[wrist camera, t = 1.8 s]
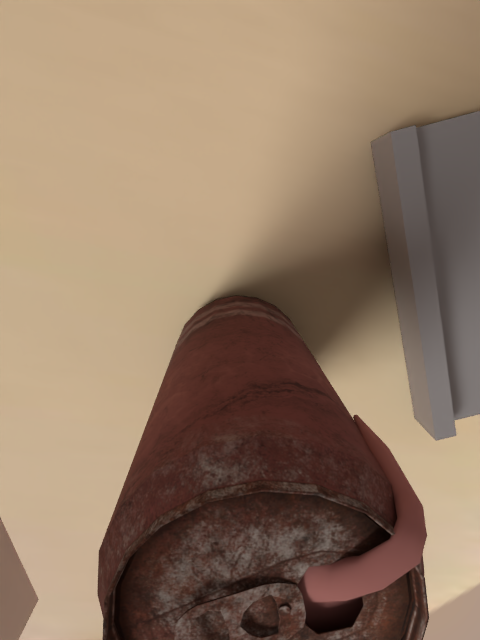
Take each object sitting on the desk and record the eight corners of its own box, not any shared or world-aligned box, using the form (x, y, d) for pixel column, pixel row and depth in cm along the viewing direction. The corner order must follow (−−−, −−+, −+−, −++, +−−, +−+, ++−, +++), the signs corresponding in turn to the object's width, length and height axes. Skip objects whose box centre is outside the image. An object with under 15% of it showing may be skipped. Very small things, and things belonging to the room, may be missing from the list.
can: (328, 346, 20) (539, 612, 7) (240, 431, 21) (270, 811, 8) (240, 263, 19) (280, 380, 5) (152, 356, 20) (0, 653, 6)
